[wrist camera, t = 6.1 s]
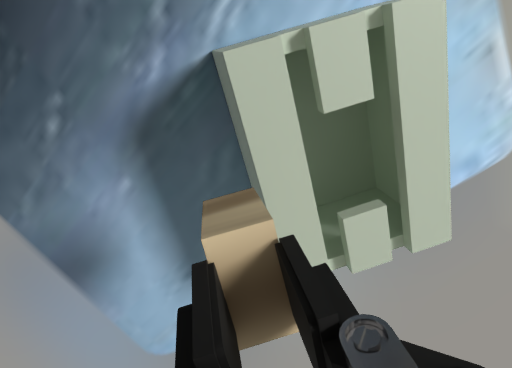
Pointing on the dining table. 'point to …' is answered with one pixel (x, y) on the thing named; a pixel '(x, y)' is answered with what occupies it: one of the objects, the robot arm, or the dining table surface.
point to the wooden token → (247, 266)
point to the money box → (348, 130)
